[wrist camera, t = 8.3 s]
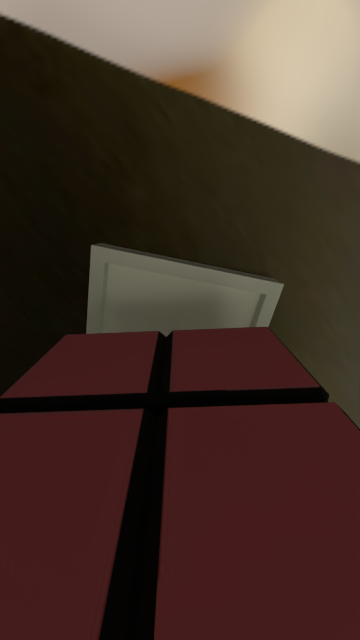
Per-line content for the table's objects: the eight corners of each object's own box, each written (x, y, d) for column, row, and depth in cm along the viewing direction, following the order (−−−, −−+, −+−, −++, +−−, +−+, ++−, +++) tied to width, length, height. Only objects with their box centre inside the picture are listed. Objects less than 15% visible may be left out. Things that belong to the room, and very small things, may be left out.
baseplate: (90, 388, 23) (82, 404, 21) (101, 242, 18) (91, 244, 16) (226, 409, 24) (231, 426, 22) (272, 278, 19) (284, 284, 17)
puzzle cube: (61, 331, 11) (-530, 855, 2) (271, 323, 11) (771, 838, 2) (98, 474, 15) (-39, 888, 6) (255, 469, 15) (386, 884, 5)
